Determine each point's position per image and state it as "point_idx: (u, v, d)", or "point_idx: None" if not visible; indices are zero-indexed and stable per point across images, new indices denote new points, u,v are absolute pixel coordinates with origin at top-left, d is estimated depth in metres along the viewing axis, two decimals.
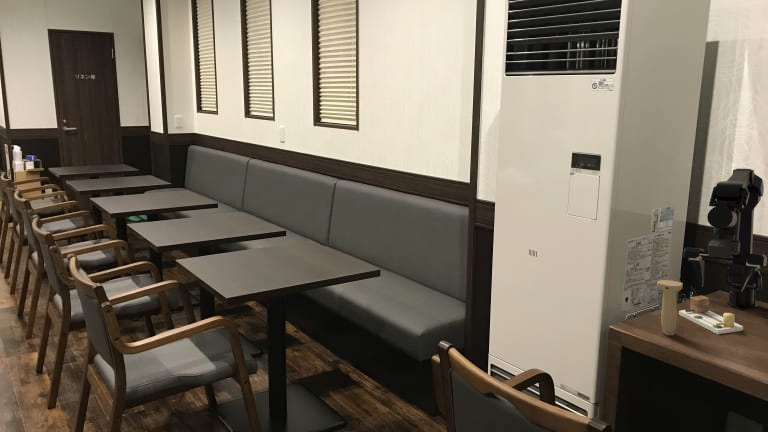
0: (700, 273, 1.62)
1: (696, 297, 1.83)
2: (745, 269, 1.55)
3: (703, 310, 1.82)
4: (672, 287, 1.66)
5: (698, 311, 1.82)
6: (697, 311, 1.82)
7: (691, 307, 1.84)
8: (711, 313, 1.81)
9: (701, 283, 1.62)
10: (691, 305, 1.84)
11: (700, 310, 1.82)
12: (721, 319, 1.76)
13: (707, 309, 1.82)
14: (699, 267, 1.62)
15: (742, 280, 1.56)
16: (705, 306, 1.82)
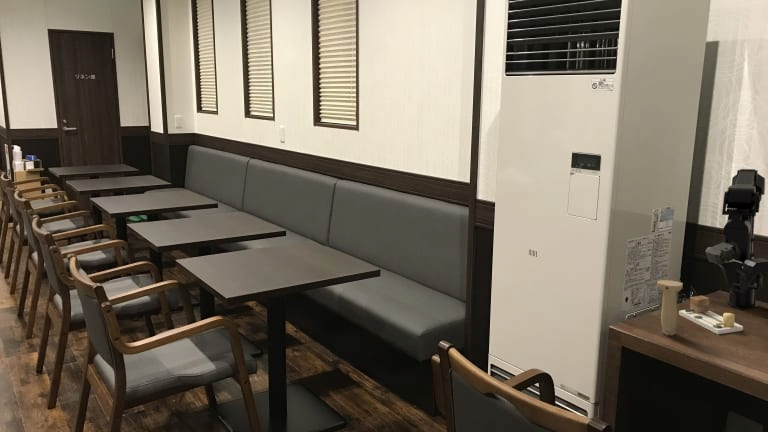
0: (725, 274, 1.68)
1: (696, 297, 1.83)
2: (739, 272, 1.61)
3: (703, 310, 1.82)
4: (672, 287, 1.66)
5: (698, 311, 1.82)
6: (697, 311, 1.82)
7: (691, 307, 1.84)
8: (711, 313, 1.81)
9: (728, 284, 1.68)
10: (691, 305, 1.84)
11: (700, 310, 1.82)
12: (721, 319, 1.76)
13: (707, 309, 1.82)
14: (724, 269, 1.68)
15: (741, 281, 1.63)
16: (705, 306, 1.82)
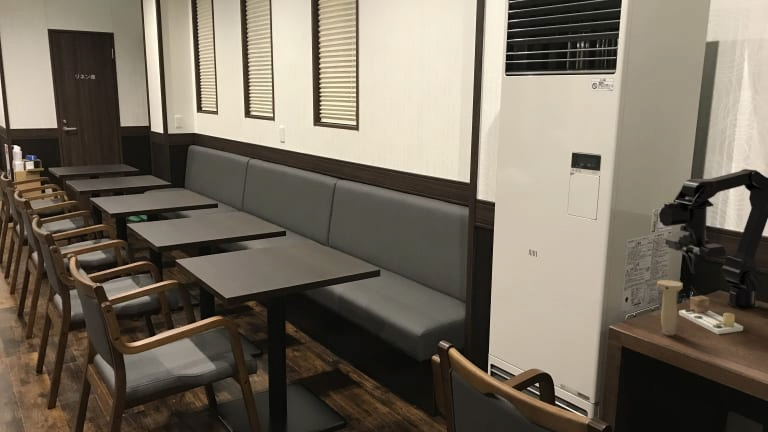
0: (689, 261, 1.82)
1: (696, 297, 1.83)
2: (690, 255, 1.80)
3: (703, 310, 1.82)
4: (672, 287, 1.66)
5: (698, 311, 1.82)
6: (697, 311, 1.82)
7: (691, 307, 1.84)
8: (711, 313, 1.81)
9: (691, 270, 1.82)
10: (691, 305, 1.84)
11: (700, 310, 1.82)
12: (721, 319, 1.76)
13: (707, 309, 1.82)
14: (687, 256, 1.82)
15: (692, 264, 1.81)
16: (705, 306, 1.82)
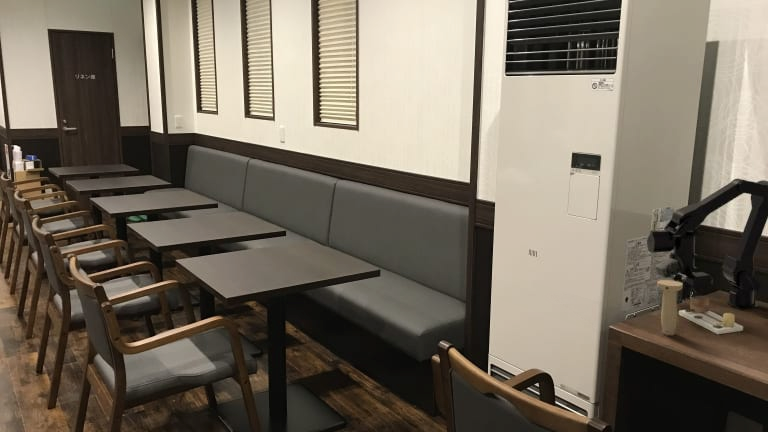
0: None
1: (696, 297, 1.83)
2: None
3: (703, 310, 1.82)
4: (672, 287, 1.66)
5: (698, 311, 1.82)
6: (697, 311, 1.82)
7: (691, 307, 1.84)
8: (711, 313, 1.81)
9: (680, 296, 1.89)
10: (691, 305, 1.84)
11: (700, 310, 1.82)
12: (721, 319, 1.76)
13: (707, 309, 1.82)
14: None
15: (681, 290, 1.88)
16: (705, 306, 1.82)
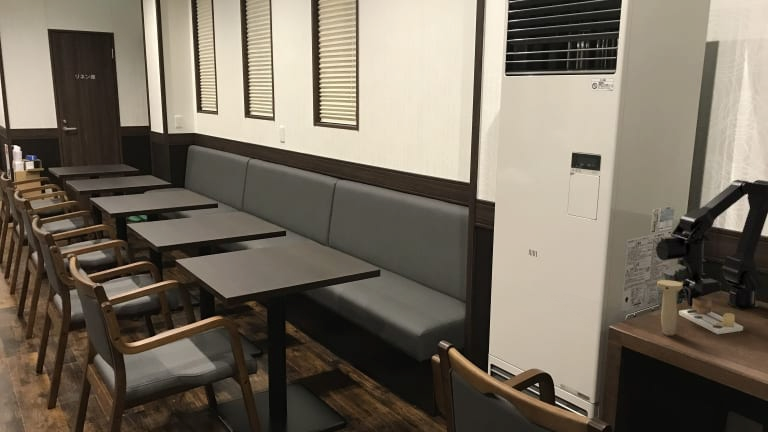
0: (686, 294, 1.85)
1: (698, 298, 1.82)
2: (687, 289, 1.83)
3: (705, 311, 1.81)
4: (672, 287, 1.66)
5: (700, 312, 1.81)
6: (699, 312, 1.81)
7: (693, 308, 1.83)
8: (711, 313, 1.81)
9: (688, 303, 1.85)
10: (693, 306, 1.83)
11: (702, 311, 1.81)
12: (721, 319, 1.76)
13: (709, 310, 1.81)
14: (684, 289, 1.85)
15: (689, 297, 1.84)
16: (707, 307, 1.81)
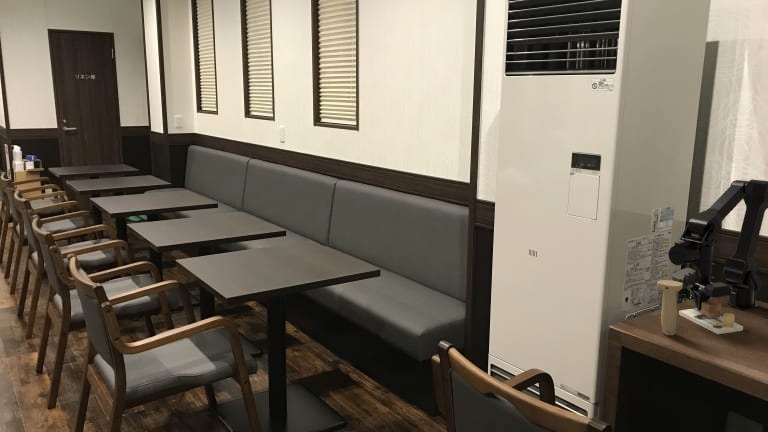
0: (695, 298, 1.81)
1: (707, 302, 1.78)
2: (696, 293, 1.79)
3: (714, 315, 1.77)
4: (672, 287, 1.66)
5: (710, 317, 1.77)
6: (709, 317, 1.77)
7: (702, 312, 1.79)
8: None
9: (697, 307, 1.82)
10: (702, 310, 1.79)
11: (712, 316, 1.77)
12: (721, 319, 1.76)
13: (719, 315, 1.77)
14: (693, 293, 1.81)
15: (698, 301, 1.81)
16: (717, 311, 1.77)
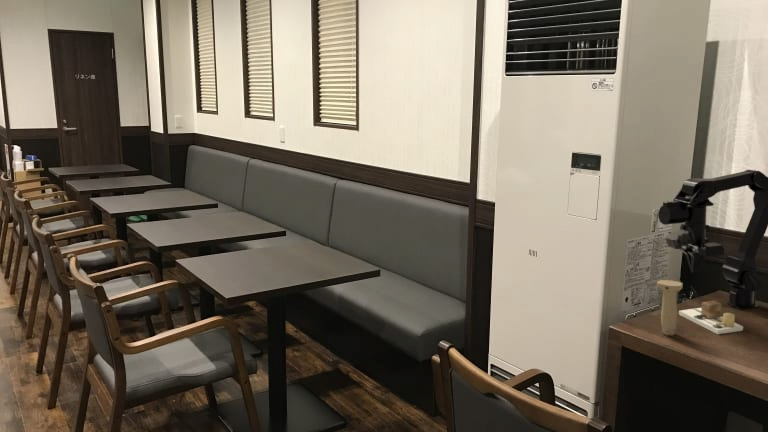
0: (689, 260, 1.84)
1: (707, 302, 1.78)
2: (690, 254, 1.81)
3: (714, 315, 1.77)
4: (672, 287, 1.66)
5: (710, 317, 1.77)
6: (709, 317, 1.77)
7: (702, 312, 1.79)
8: None
9: (691, 268, 1.84)
10: (702, 310, 1.79)
11: (712, 316, 1.77)
12: (721, 319, 1.76)
13: (719, 315, 1.77)
14: (687, 255, 1.84)
15: (692, 262, 1.83)
16: (717, 311, 1.77)
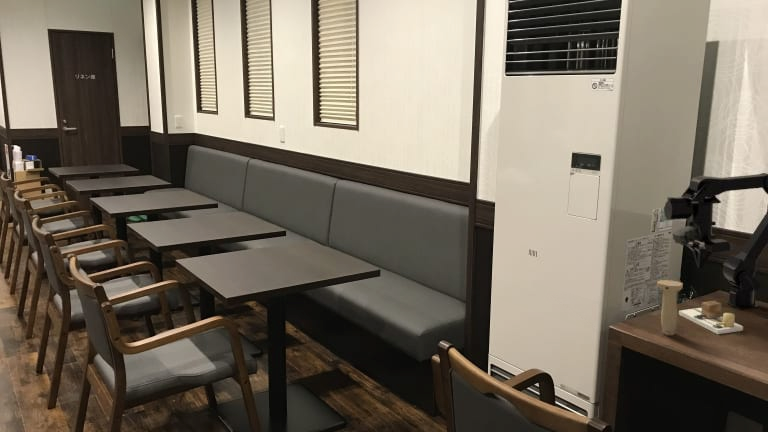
0: (695, 256, 1.87)
1: (707, 302, 1.78)
2: (696, 250, 1.85)
3: (714, 315, 1.77)
4: (672, 287, 1.66)
5: (710, 317, 1.77)
6: (709, 317, 1.77)
7: (702, 312, 1.79)
8: None
9: (697, 264, 1.87)
10: (702, 310, 1.79)
11: (712, 316, 1.77)
12: (721, 319, 1.76)
13: (719, 315, 1.77)
14: (694, 251, 1.87)
15: (698, 258, 1.86)
16: (717, 311, 1.77)
